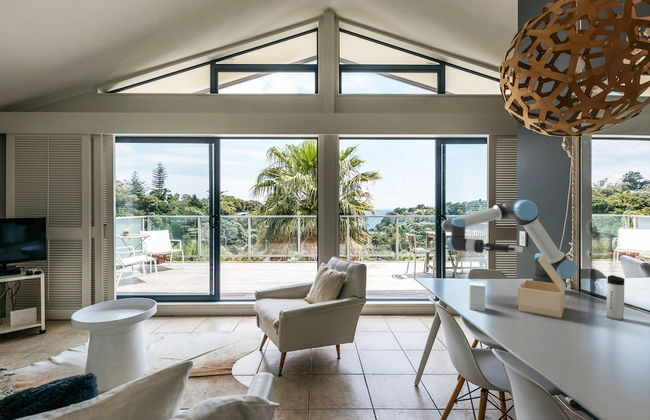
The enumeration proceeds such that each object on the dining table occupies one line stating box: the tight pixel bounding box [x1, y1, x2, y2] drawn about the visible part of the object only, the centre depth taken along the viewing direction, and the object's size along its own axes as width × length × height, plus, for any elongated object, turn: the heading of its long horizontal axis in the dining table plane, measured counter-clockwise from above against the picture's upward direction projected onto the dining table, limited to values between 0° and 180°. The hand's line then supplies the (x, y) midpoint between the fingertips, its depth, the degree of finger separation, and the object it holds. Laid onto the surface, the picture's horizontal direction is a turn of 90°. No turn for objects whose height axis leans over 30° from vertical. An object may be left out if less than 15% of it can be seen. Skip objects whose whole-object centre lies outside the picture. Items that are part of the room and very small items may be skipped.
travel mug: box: [605, 275, 625, 321], centre depth 164 cm, size 6×7×20 cm
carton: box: [516, 279, 566, 319], centre depth 177 cm, size 23×19×12 cm
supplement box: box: [468, 282, 486, 312], centre depth 177 cm, size 7×7×13 cm
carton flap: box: [538, 255, 567, 293], centre depth 174 cm, size 21×18×1 cm
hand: (522, 249), depth 182 cm, fingers closed
